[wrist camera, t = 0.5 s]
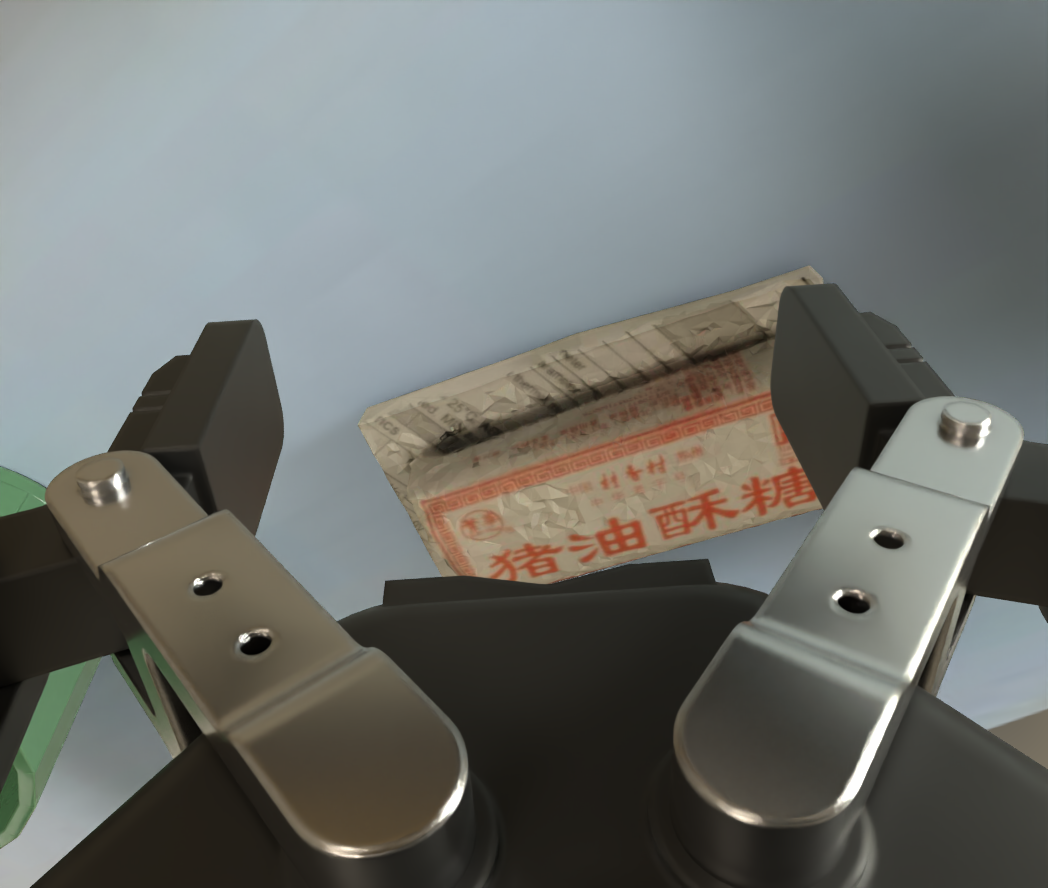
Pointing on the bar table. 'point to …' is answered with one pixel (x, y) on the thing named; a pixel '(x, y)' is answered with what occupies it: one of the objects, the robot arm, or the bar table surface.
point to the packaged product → (600, 444)
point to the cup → (56, 707)
